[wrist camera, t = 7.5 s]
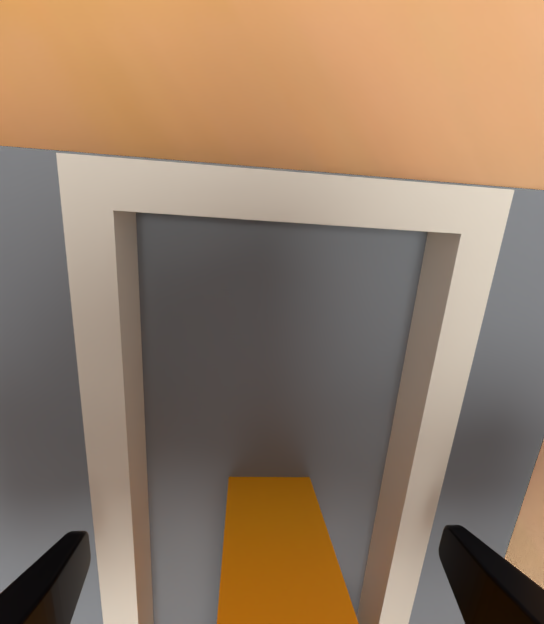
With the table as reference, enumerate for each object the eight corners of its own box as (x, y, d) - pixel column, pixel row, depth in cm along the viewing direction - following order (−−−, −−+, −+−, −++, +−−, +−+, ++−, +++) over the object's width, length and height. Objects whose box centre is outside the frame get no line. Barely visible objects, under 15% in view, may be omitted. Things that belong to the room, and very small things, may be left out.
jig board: (592, 198, 10) (690, 192, 7) (459, 632, 14) (496, 703, 12) (-78, 144, 8) (-196, 116, 6) (22, 652, 13) (-23, 738, 11)
